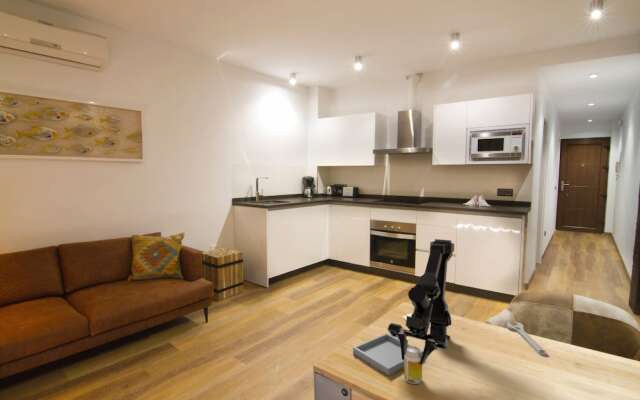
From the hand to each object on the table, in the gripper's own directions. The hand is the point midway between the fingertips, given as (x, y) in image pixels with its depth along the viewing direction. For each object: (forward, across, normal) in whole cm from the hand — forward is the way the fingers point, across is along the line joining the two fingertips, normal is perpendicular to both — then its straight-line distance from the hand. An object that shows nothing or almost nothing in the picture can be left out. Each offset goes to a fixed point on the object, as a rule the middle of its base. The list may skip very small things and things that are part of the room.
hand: (411, 362), depth 109 cm
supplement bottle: (+4, 0, +6) cm, 7 cm away
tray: (-3, -12, +12) cm, 18 cm away
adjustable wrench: (-30, +29, +40) cm, 57 cm away
